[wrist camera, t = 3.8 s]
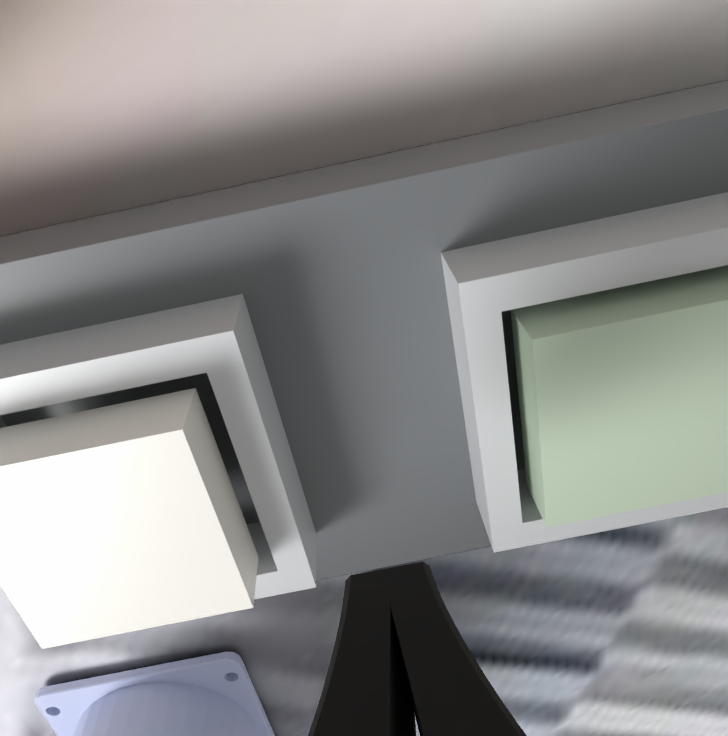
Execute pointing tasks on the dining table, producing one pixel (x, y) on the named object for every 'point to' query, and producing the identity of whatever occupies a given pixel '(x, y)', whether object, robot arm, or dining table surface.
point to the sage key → (625, 396)
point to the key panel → (369, 321)
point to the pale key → (120, 521)
